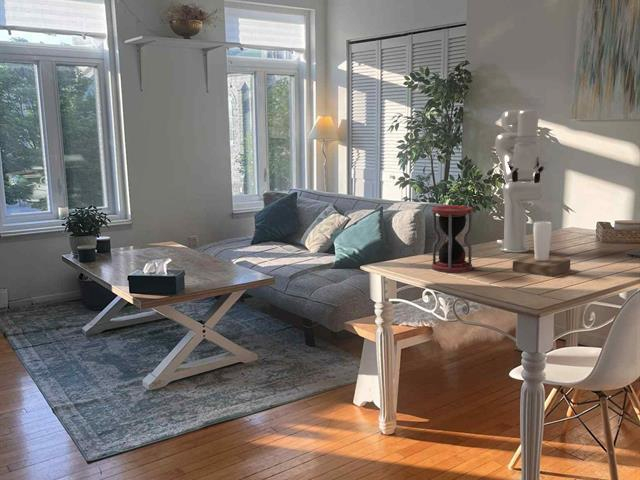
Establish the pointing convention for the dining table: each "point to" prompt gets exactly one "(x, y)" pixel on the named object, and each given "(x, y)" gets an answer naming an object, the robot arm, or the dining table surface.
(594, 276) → the dining table surface
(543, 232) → the white tapered cylinder
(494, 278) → the dining table surface
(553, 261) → the walnut block
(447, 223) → the hourglass
